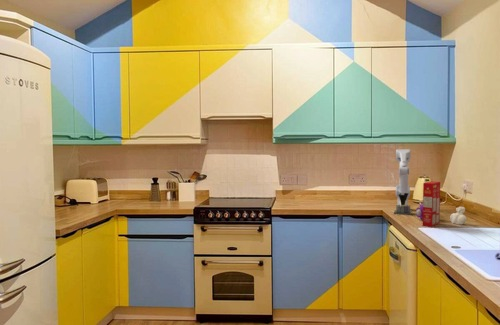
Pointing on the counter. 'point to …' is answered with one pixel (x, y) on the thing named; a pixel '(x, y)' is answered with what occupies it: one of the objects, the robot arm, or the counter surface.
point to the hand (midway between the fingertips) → (403, 204)
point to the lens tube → (403, 210)
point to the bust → (458, 216)
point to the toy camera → (419, 211)
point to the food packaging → (431, 203)
